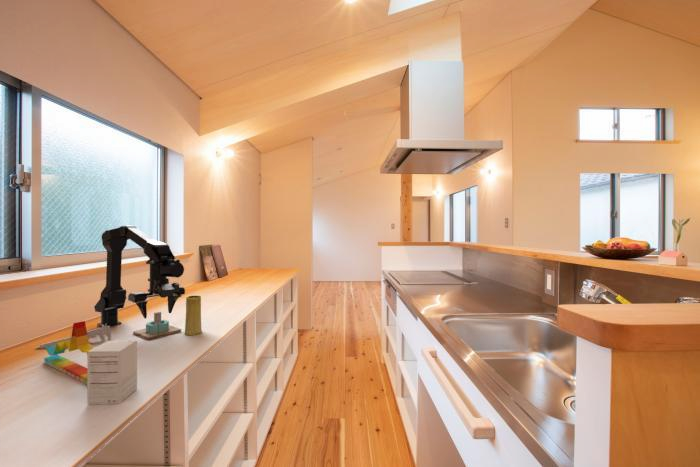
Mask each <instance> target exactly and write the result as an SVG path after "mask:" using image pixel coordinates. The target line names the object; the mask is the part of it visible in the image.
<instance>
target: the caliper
mask: <svg viewBox="0 0 700 467" xmlns="http://www.w3.org/2000/svg"><path fill="white" fill-rule="evenodd" d="M104 333H106V336H107V338H108V341H111V339H112V329H111V326H107V324H105V326H104V325H103V324H102V326H101V327H98V328H95V329H91V330H87V335H88V340H89V339H93V338H95V337H97V336H98V338H100V339H101V340H102V342H104V341H105V340H106V338H105V334H104ZM66 340H71V336H68V337H64V338H61V339H60V338H59V339H56V340H52V341H48V342H45V343H41V344H40V345H39V346H36V347H35V348H34V350H38V349H46V348H48V347H52V346H56V344H57V342H62V341H66ZM105 342H106V341H105Z"/></svg>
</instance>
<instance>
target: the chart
mask: <svg viewBox="0 0 700 467" xmlns="http://www.w3.org/2000/svg"><path fill="white" fill-rule="evenodd" d="M87 331H88V330H87V325H86V321H85V320H84V321H83V320H82V321H78V322H74V323H73V324H72V330H71V336H70V337H71V340H66V341H62V342H57V344H56V345H55V346H52V347H48V348H45V350H46V351H47V353H48V355H49V356H46V357H44V358H43V360H44V361H43V363H44V364H46V365H47V366H49V367H51V368H54V369H55V370H57V371H60V372H62V373H64V374H65V375H67V376H69V377H71V378H73V379H76V380H77V381H79V382H81V383H83V384H85V385H87V366H86V367H85V366H83V365H81V364H79V363H77V362H74V361H72V360H70V359H68V358H66V357H63V356H62V355H59V354H63V353H65V351H66V350H68V352H69V353H70V352H73V351H77V350H79V351H80V352H81V353H82V354H83V353H85V354H87V352H88V351H90V350H92V349H94V348H95V347H93V346H92V345H91V344H90V341H89V339H88V335H87Z"/></svg>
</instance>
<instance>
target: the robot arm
mask: <svg viewBox="0 0 700 467" xmlns="http://www.w3.org/2000/svg"><path fill="white" fill-rule="evenodd" d="M128 240H129V241H132V242H133V243H135V244H136V245H138V246H139V247H140V248H141V249H143V253H144V254H145V256H147V258H148V260H147V261H146V262H145V264H146V265H149V278H147V282H149V288H147V292H144V291H134V292H130V293H128V296H127V290H126V289H124V288H123V286H122V285H121V283H122V263H123V262H122V260H123V259H122V256H123V255H122V254H123V251H124V249H125V248H126V246H127V244H128ZM101 243H102V246H103V247H104V249H105V251H106V274H105V275H106V276H105V278H106V279H105V280H106V281H105V287H104V288H103V289H102V291H101V292H100V296H99V297H100V298H99V300H98V301H97V302H96V303H95V305H94V306H93V308H94V311H95V312H96V313H100V322H99V323H97V326H100V327H102V324H103V325H104V326H105V324H107V326H110V327H112V326H116V325H121V324H122V322H121V321H119V309H124V307H125V304H126V300H127V301H128V302H129V301H130V302H132V303H134V304H135V305H136V306H137V307H138V309H139V311H140V313H141V315H142V317H143V318H144V319H147V317H148V316H147V315H148V313H147V304H148V303H149V302H148V300H147V299H148V298H154V297H160V298H162V299H164V298H167V310H168V313H169V314H172V311H173V309H174V307H175V304H176V302H177V301H178V299H179V298H181V297H182V295H186V289H185V288H184V287H183V286H180V283H179V282H178V281H177V282H172V283H170V282H169V281H170V280H169V278H180V277H181V276H183V274H184V272H185V267H184V265H183V264H182V263H181V262H180V261H181V260H180V259H179V258H178V259H176V257H175V255H174V254H173V252H172V250H171V248H170V245H169V244H167V243H165V242H162V241H161V240H155V239H153V238H152V237H150V236H148V235H147V234H145V233H144V232H143V231H141V229H138V228H137V226H135V225H130V224H129V225H128V224H127V225H121V226H119V227H116V228H112V229H107V230H105V231H104V232H102V234H101ZM168 277H169V278H168Z"/></svg>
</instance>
